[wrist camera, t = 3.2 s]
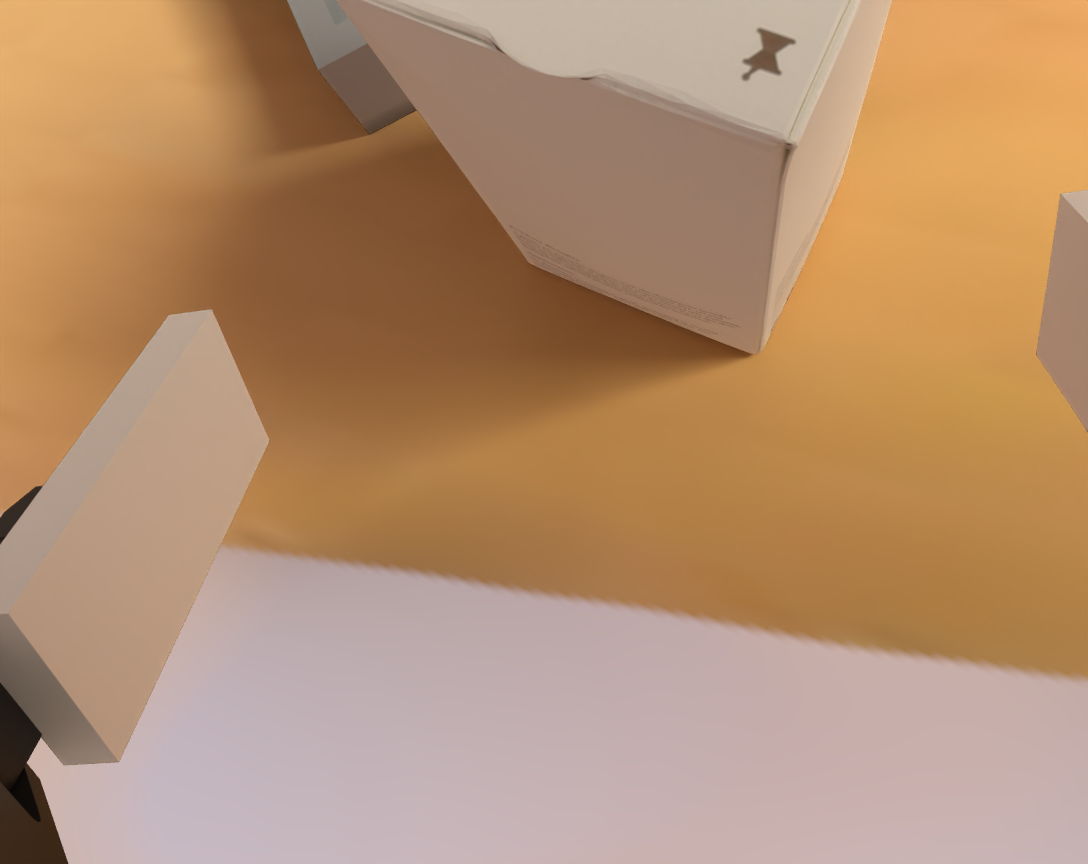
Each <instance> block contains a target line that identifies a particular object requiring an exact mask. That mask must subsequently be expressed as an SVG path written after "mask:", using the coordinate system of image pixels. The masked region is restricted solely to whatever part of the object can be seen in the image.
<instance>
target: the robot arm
mask: <svg viewBox="0 0 1088 864" xmlns="http://www.w3.org/2000/svg"><path fill="white" fill-rule="evenodd" d="M1036 355H1037V357H1038V358H1039V360H1040V361H1041V363H1042V364H1043V366H1044V367H1045V369H1046V370H1047V372H1048V373H1049V375H1050V376H1051V378H1052V379H1053V381H1054V382H1055V384H1056V385H1057V387H1058V388H1059V390H1060V391H1061V393H1062V394H1063V396H1064V397H1065V399H1066V400H1067V402H1068V403H1069V405H1070V406H1071V408H1072V409H1073V411H1074V412H1075V414H1076V415H1077V417H1078V418H1079V420H1080V421H1081V423H1082V424H1083V426H1084V427H1085V429H1086V430H1087V432H1088V190H1084V191H1076V192H1069V193H1062V194H1060V201H1059V208H1058V214H1057V221H1056V227H1055V234H1054V240H1053V247H1052V253H1051V260H1050V267H1049V273H1048V280H1047V286H1046V293H1045V299H1044V306H1043V312H1042V319H1041V325H1040V332H1039V339H1038V345H1037V352H1036ZM269 441H270V440H269V438H268V436H267V434H266V431H265V429H264V427H263V424H262V422H261V420H260V418H259V415H258V413H257V411H256V408H255V406H254V404H253V402H252V399H251V397H250V395H249V393H248V390H247V388H246V386H245V383H244V381H243V379H242V377H241V374H240V372H239V370H238V368H237V365H236V363H235V361H234V358H233V356H232V354H231V352H230V349H229V347H228V345H227V342H226V340H225V338H224V336H223V333H222V331H221V329H220V327H219V324H218V322H217V320H216V317H215V315H214V313H213V311H212V309H209V310H202V311H195V312H187V313H180V314H173V315H169V316H168V317H167V318H166V320H165V321H164V322H163V324H162V325H161V326H160V328H159V329H158V331H157V332H156V333H155V335H154V336H153V337H152V339H151V340H150V341H149V343H148V344H147V345H146V347H145V348H144V350H143V351H142V352H141V354H140V355H139V356H138V358H137V359H136V360H135V362H134V363H133V365H132V366H131V367H130V369H129V370H128V371H127V373H126V374H125V375H124V377H123V378H122V379H121V381H120V382H119V384H118V385H117V386H116V388H115V389H114V390H113V392H112V393H111V394H110V396H109V397H108V399H107V400H106V401H105V403H104V404H103V405H102V407H101V408H100V409H99V411H98V412H97V414H96V415H95V416H94V418H93V419H92V420H91V422H90V423H89V424H88V426H87V427H86V428H85V430H84V431H83V433H82V434H81V435H80V437H79V438H78V439H77V441H76V442H75V443H74V445H73V446H72V448H71V449H70V450H69V452H68V453H67V454H66V456H65V457H64V458H63V460H62V461H61V463H60V464H59V465H58V467H57V468H56V469H55V471H54V472H53V473H52V475H51V476H50V477H49V479H48V480H47V482H46V483H45V484H44V486H38V487H35V488H34V489H32V490H31V491H30V492H29V493H27V494H26V495H25V496H24V497H23V498H21V499H20V500H19V501H18V502H16V503H15V504H14V505H13V506H12V507H10V508H9V509H8V510H7V511H5V512H4V514H3V515H2V516H1V518H0V864H68V861H67V858H66V856H65V853H64V850H63V847H62V844H61V841H60V838H59V835H58V832H57V829H56V826H55V823H54V820H53V817H52V814H51V811H50V808H49V805H48V802H47V799H46V796H45V793H44V790H43V787H42V785H41V781H40V779H39V778H38V777H37V776H36V774H35V773H34V771H33V770H32V769H31V768H30V767H29V765H28V764H27V761H28V760H29V758H30V756H31V754H32V752H33V751H34V748H35V747H36V745H37V743H38V741H39V740H40V738H42V739H43V740H44V741H45V743H46V744H47V745H48V746H49V748H50V749H51V750H52V751H53V753H54V754H55V755H56V756H57V758H58V759H59V760H60V761H61V762H62V764H63V765H78V764H95V763H111V762H119V761H120V759H121V756H122V754H123V752H124V750H125V748H126V746H127V744H128V741H129V739H130V737H131V735H132V733H133V731H134V729H135V726H136V725H137V722H138V720H139V718H140V716H141V714H142V712H143V710H144V708H145V705H146V703H147V701H148V699H149V697H150V695H151V693H152V691H153V688H154V686H155V684H156V681H157V680H158V678H159V675H160V673H161V671H162V669H163V667H164V665H165V663H166V661H167V659H168V656H169V654H170V652H171V650H172V648H173V646H174V644H175V641H176V639H177V637H178V635H179V633H180V631H181V628H182V627H183V624H184V622H185V620H186V618H187V616H188V614H189V612H190V610H191V607H192V605H193V603H194V601H195V599H196V597H197V595H198V592H199V590H200V588H201V586H202V584H203V582H204V580H205V578H206V575H207V573H208V571H209V569H210V567H211V564H212V562H213V560H214V558H215V556H216V554H217V552H218V550H219V548H220V546H221V543H222V541H223V539H224V537H225V535H226V533H227V531H228V528H229V526H230V524H231V522H232V520H233V518H234V516H235V514H236V511H237V509H238V507H239V505H240V503H241V501H242V499H243V497H244V494H245V492H246V490H247V488H248V486H249V484H250V482H251V479H252V477H253V475H254V473H255V471H256V469H257V467H258V465H259V462H260V460H261V458H262V456H263V454H264V452H265V450H266V447H267V445H268V443H269Z"/></svg>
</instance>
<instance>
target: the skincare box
mask: <svg viewBox="0 0 1088 864" xmlns="http://www.w3.org/2000/svg"><path fill="white" fill-rule="evenodd" d="M336 1H337V3H338V4H339V5H340V7H341V8H342V9H343V11H344V12H345V13H346V15H347V16H348V17H349V19H350V20H351V21H352V23H353V24H354V25H355V27H356V28H357V29H358V31H359V32H360V34H361V35H362V36H363V38H364V39H365V41H366V42H367V43H368V45H369V46H370V47H371V49H372V50H373V52H374V53H375V54H376V56H377V57H378V58H379V60H380V61H381V62H382V64H383V65H384V66H385V68H386V69H387V70H388V72H389V73H390V74H391V76H392V77H393V78H394V80H395V81H396V83H397V84H398V85H399V87H400V88H401V89H402V91H403V92H404V93H405V95H406V96H407V97H408V99H409V100H410V102H411V103H412V104H413V106H414V107H415V108H416V110H417V111H418V112H419V114H420V115H421V116H422V118H423V119H424V120H425V122H426V123H427V124H428V126H429V127H430V129H431V130H432V131H433V133H434V134H435V135H436V137H437V138H438V139H439V141H440V142H441V144H442V145H443V146H444V148H445V149H446V150H447V152H448V153H449V154H450V156H451V157H452V158H453V160H454V161H455V162H456V164H457V165H458V167H459V168H460V169H461V171H462V172H463V173H464V175H465V176H466V178H467V179H468V180H469V182H470V183H471V184H472V186H473V187H474V189H475V190H476V191H477V193H478V194H479V195H480V197H481V198H482V199H483V201H484V202H485V203H486V205H487V206H488V207H489V209H490V210H491V211H492V213H493V214H494V215H495V217H496V218H497V220H498V221H499V222H500V224H501V225H502V226H503V228H504V229H505V231H506V232H507V233H508V235H509V236H510V237H511V239H512V240H513V242H514V243H515V244H516V246H517V247H518V248H519V250H520V251H521V253H522V254H523V255H524V257H525V258H526V260H527V262H529V263H530V264H532V265H534V266H536V267H539V268H541V269H543V270H545V271H548V272H550V273H552V274H555V275H557V276H559V277H562V278H564V279H566V280H569V281H571V282H574V283H576V284H578V285H581V286H583V287H586V288H588V289H591V290H593V291H595V292H598V293H600V294H603V295H605V296H608V297H610V298H612V299H615V300H617V301H620V302H622V303H625V304H627V305H629V306H632V307H634V308H637V309H639V310H642V311H644V312H647V313H649V314H651V315H654V316H656V317H659V318H661V319H664V320H666V321H669V322H671V323H673V324H676V325H678V326H681V327H683V328H686V329H688V330H691V331H693V332H696V333H698V334H701V335H703V336H706V337H708V338H711V339H713V340H716V341H719V342H721V343H724V344H726V345H729V346H732V347H735V348H737V349H740V350H743V351H745V352H748V353H751V354H758V353H760V352H761V351H762V350H763V349H764V347H765V345H766V343H767V341H768V339H769V337H770V335H771V332H772V330H773V328H774V326H775V324H776V322H777V320H778V318H779V316H780V314H781V312H782V310H783V308H784V306H785V303H786V301H787V299H788V297H789V295H790V293H791V291H792V289H793V287H794V285H795V282H796V280H797V278H798V276H799V274H800V272H801V270H802V268H803V265H804V263H805V261H806V259H807V257H808V255H809V252H810V250H811V248H812V245H813V243H814V241H815V239H816V236H817V234H818V232H819V230H820V227H821V225H822V223H823V221H824V218H825V216H826V214H827V211H828V209H829V207H830V205H831V202H832V200H833V198H834V195H835V193H836V191H837V188H838V186H839V184H840V181H841V178H842V176H843V172H844V169H845V165H846V161H847V158H848V154H849V151H850V147H851V143H852V140H853V136H854V133H855V129H856V126H857V122H858V118H859V115H860V112H861V108H862V105H863V102H864V98H865V95H866V91H867V88H868V85H869V81H870V78H871V74H872V71H873V67H874V63H875V60H876V56H877V52H878V49H879V45H880V42H881V38H882V34H883V31H884V27H885V24H886V20H887V17H888V13H889V10H890V6H891V3H892V0H336Z"/></svg>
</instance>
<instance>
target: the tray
mask: <svg viewBox="0 0 1088 864" xmlns="http://www.w3.org/2000/svg"><path fill="white" fill-rule="evenodd" d="M287 2H288V4H289V6H290V9H291V11H292V13H293V15H294V18H295V20H296V22H297V24H298V27H299V29H300V31H301V33H302V36H303V38H304V40H305V42H306V45H307V47H308V49H309V51H310V54H311V56H312V58H313V60H314V63H315V65H316V67H317V69H318V71H319V72H320V73H321V75H322V76H323V77H324V78H325V80H326V81H327V82H328V83H329V85H330V86H331V87H332V88H333V90H334V91H335V92H336V93H337V95H338V96H339V97H340V98H341V100H342V101H343V102H344V103H345V105H346V106H347V107H348V108H349V110H350V111H351V112H352V113H353V115H354V116H355V117H356V118H357V120H358V121H359V122H360V123H361V125H362V126H363V127H364V128H365V130H366V131H367V132H368V133H369V134H371V133H373V132H375V131H377V130H379V129H381V128H383V127H385V126H387V125H388V124H390V123H392V122H394V121H396V120H398V119H400V118H402V117H404V116H406V115H407V114H409V113H411V112H413V111H415V110H416V108H415V107H414V106H413V104H412V103H411V102H410V100H409V99H408V97H407V96H406V95H405V93H404V92H403V91H402V89H401V88H400V87H399V85H398V84H397V83H396V81H395V80H394V78H393V77H392V76H391V74H390V73H389V72H388V70H387V69H386V68H385V66H384V65H383V64H382V62H381V61H380V60H379V58H378V57H377V56H376V54H375V53H374V52H373V50H372V49H371V47H370V46H369V45H368V43H367V42H366V41H365V39H364V38H363V36H362V35H361V34H360V32H359V31H358V29H357V28H356V27H355V25H354V24H353V23H352V21H351V20H350V19H349V17H348V16H347V15H346V13H345V12H344V11H343V9H342V8H341V7H340V5H339V4H338V3H337V1H336V0H287Z"/></svg>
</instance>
